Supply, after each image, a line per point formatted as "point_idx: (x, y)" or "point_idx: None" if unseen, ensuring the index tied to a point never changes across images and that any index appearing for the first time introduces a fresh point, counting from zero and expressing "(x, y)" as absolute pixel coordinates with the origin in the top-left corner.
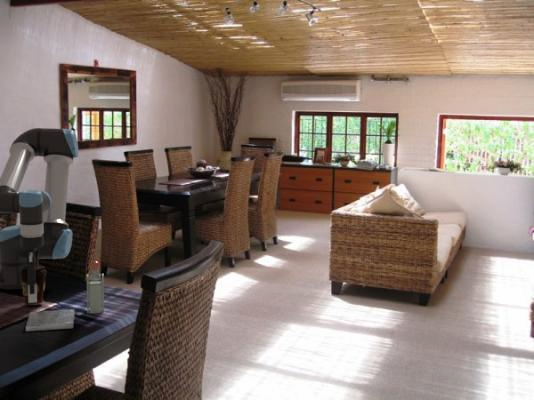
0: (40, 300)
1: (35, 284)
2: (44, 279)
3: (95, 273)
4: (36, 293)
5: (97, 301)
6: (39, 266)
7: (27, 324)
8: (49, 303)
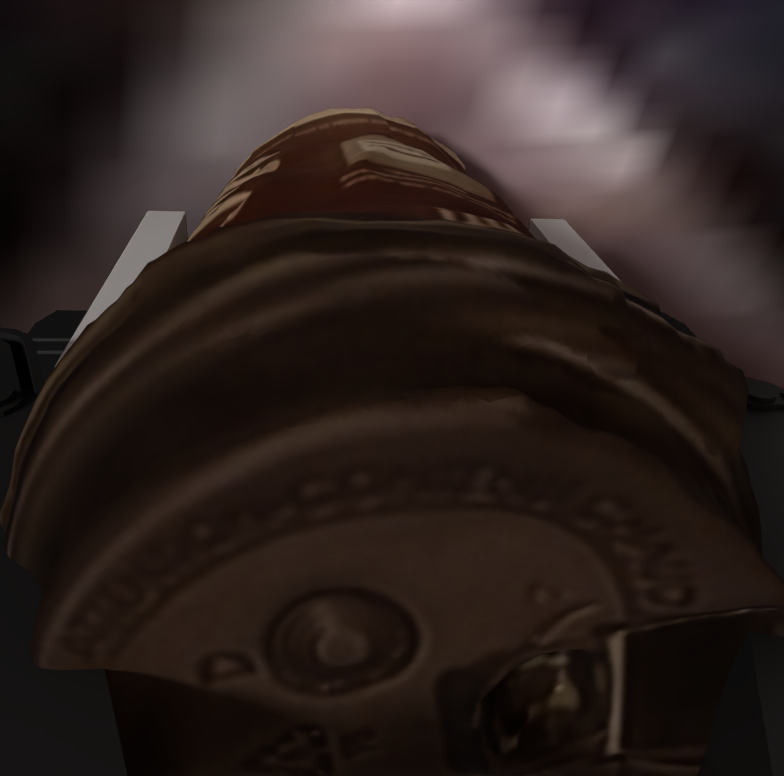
0: (453, 167)
1: (756, 382)
2: (464, 205)
3: None
4: (615, 276)
5: None
6: (230, 587)
7: None
8: (303, 7)
